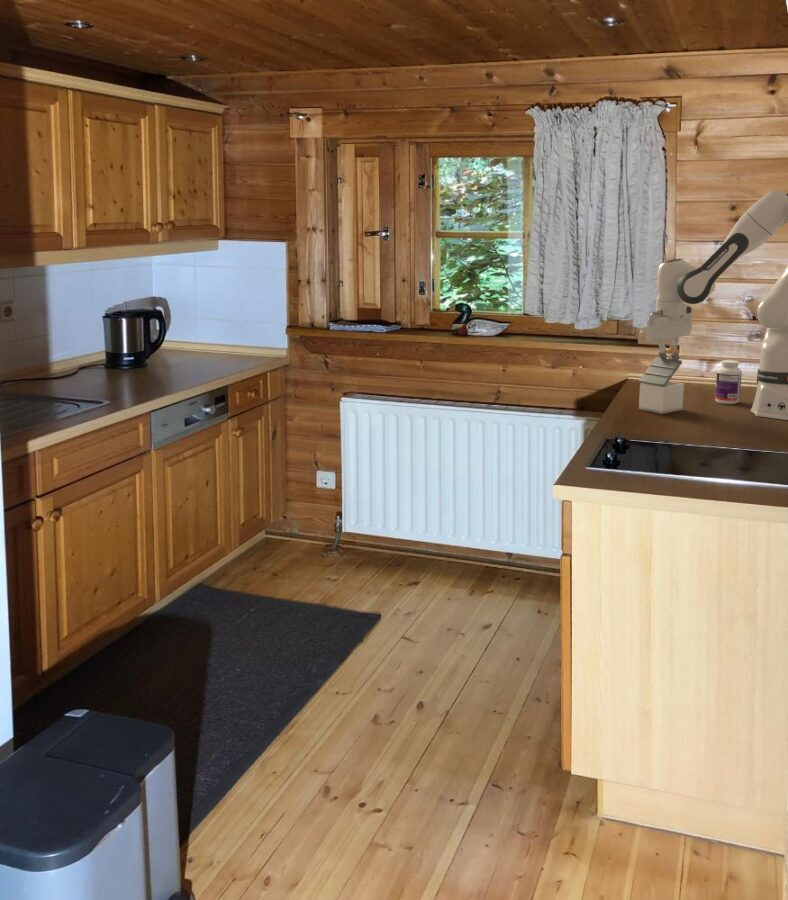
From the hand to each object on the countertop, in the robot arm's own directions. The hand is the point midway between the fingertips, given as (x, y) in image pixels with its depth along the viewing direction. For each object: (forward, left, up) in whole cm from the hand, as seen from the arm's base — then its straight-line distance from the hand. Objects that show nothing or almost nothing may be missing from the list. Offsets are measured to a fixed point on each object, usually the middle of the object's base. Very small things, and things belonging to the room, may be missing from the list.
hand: (667, 351), depth 348 cm
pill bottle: (-7, -26, -20) cm, 34 cm away
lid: (0, +2, -6) cm, 6 cm away
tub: (0, +2, -19) cm, 19 cm away
